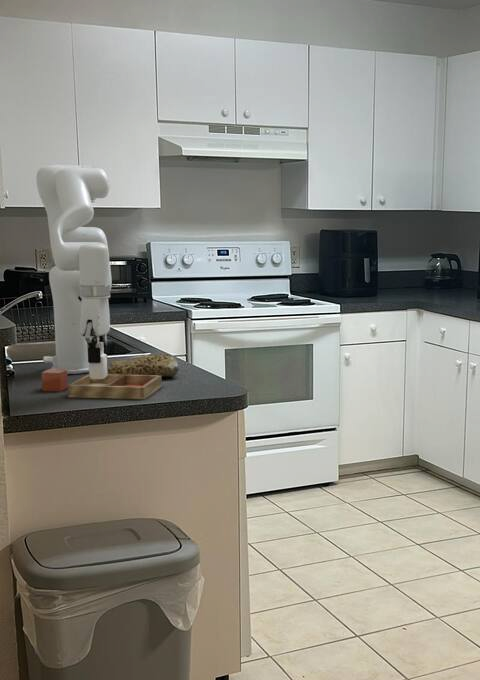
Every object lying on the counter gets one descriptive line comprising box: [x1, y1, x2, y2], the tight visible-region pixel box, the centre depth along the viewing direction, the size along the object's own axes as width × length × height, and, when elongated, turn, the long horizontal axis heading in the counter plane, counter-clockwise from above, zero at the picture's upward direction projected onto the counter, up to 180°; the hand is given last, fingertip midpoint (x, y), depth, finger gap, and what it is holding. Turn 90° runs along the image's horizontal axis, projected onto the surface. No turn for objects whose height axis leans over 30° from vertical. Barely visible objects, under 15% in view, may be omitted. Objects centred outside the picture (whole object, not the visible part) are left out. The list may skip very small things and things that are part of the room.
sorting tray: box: [67, 373, 163, 400], centre depth 237 cm, size 20×16×3 cm
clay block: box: [41, 368, 69, 392], centre depth 239 cm, size 5×5×5 cm
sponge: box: [107, 353, 180, 377], centre depth 254 cm, size 13×8×20 cm
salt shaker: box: [88, 342, 108, 379], centre depth 236 cm, size 4×4×10 cm
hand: (97, 360), depth 236 cm, fingers closed on salt shaker, 4 cm apart
